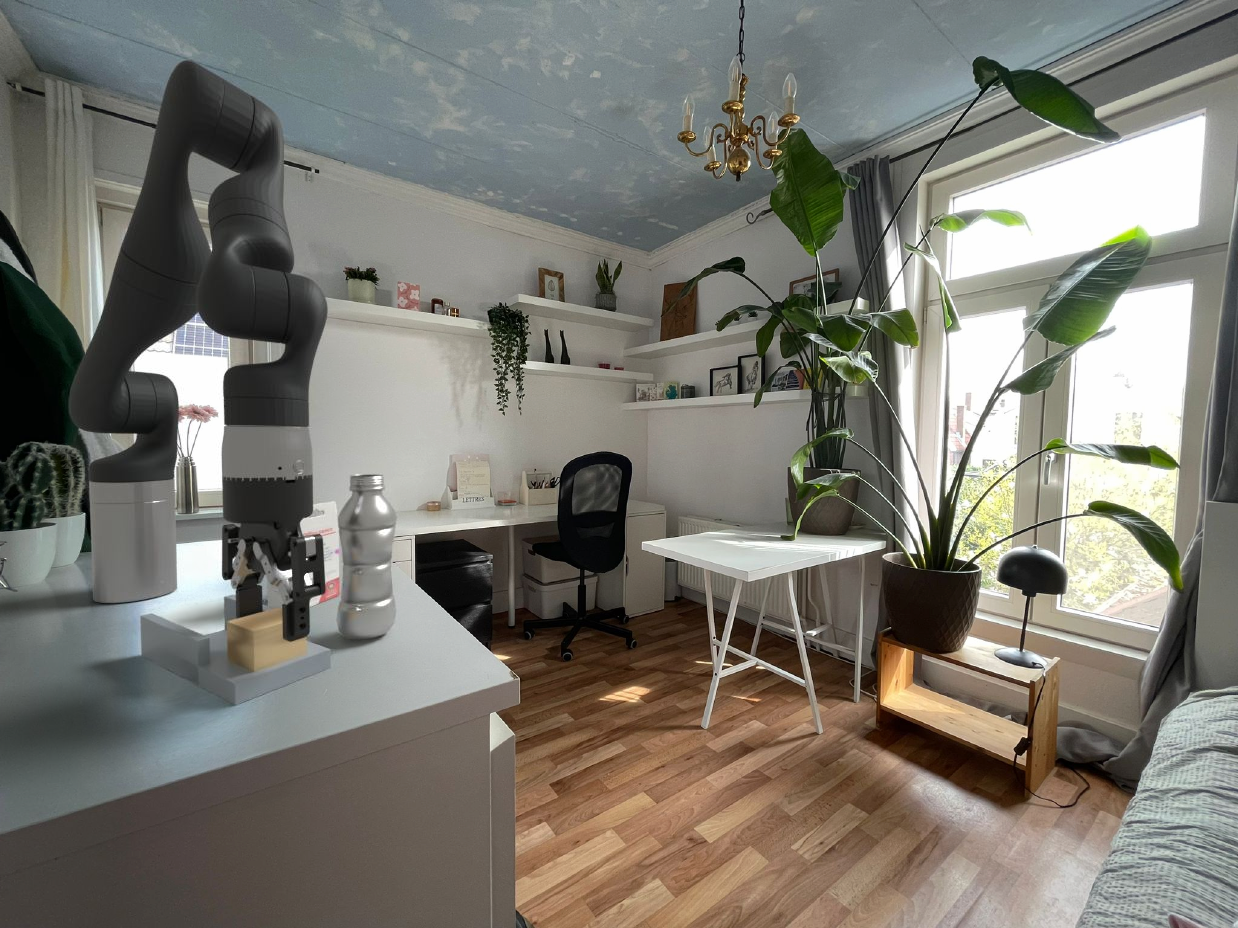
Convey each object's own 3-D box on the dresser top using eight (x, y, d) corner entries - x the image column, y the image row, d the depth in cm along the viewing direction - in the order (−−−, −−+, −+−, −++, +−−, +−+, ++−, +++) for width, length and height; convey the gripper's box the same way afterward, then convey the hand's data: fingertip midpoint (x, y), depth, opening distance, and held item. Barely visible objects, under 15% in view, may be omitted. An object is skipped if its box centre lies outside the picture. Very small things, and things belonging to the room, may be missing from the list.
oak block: (227, 660, 52) (226, 621, 52) (279, 643, 56) (279, 607, 56) (254, 672, 49) (253, 631, 49) (306, 653, 54) (306, 615, 54)
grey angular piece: (141, 655, 57) (140, 615, 56) (233, 629, 65) (233, 594, 64) (235, 705, 47) (234, 657, 47) (330, 667, 55) (330, 626, 55)
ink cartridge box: (313, 592, 80) (312, 498, 79) (340, 595, 79) (340, 500, 78) (264, 610, 72) (263, 506, 71) (295, 614, 71) (294, 508, 70)
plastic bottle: (328, 635, 64) (327, 474, 62) (384, 621, 69) (383, 472, 67) (348, 651, 59) (347, 478, 58) (405, 635, 64) (405, 476, 63)
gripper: (189, 470, 52) (194, 628, 52) (268, 477, 45) (272, 659, 46) (269, 467, 58) (272, 607, 59) (348, 473, 51) (350, 631, 52)
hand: (272, 630), depth 52 cm, fingers open, 8 cm apart
